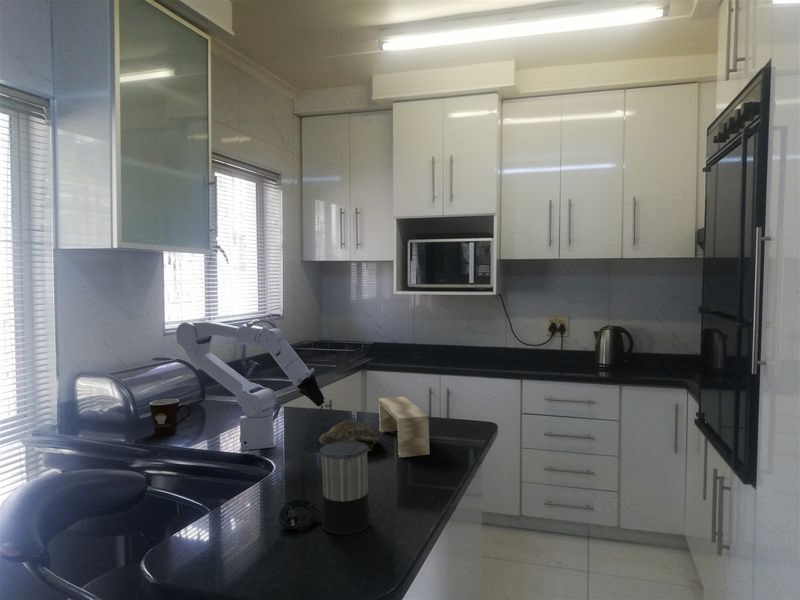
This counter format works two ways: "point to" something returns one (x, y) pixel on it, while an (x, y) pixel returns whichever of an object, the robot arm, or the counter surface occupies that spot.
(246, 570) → the counter surface
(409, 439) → the birch shelf
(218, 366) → the robot arm
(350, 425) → the turtle shell
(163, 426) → the coffee mug
